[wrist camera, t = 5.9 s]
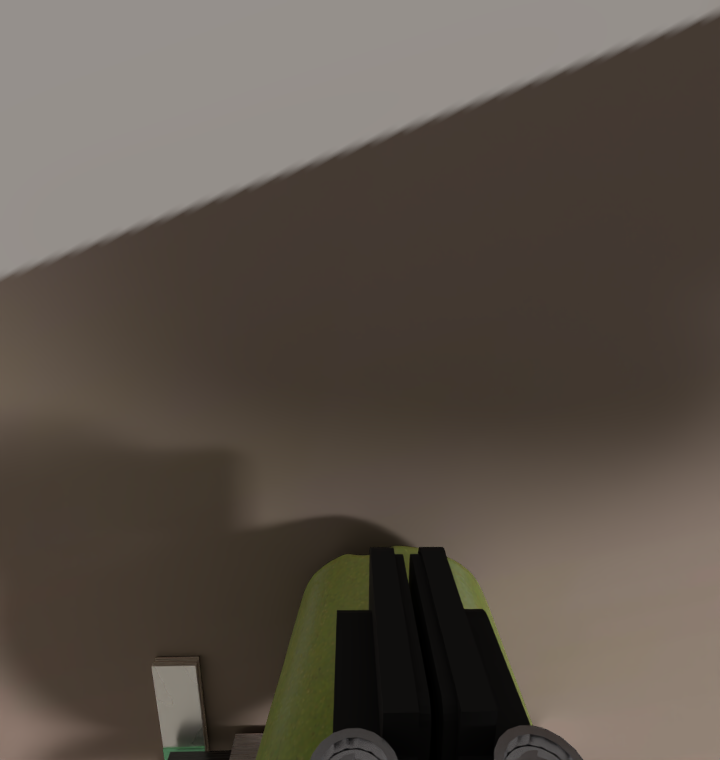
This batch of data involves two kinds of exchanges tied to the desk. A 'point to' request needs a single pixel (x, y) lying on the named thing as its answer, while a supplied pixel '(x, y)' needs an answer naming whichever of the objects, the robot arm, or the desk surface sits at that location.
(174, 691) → the grey slotted box
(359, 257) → the desk surface
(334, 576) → the plant pot
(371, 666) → the robot arm
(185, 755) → the grey flat bar
